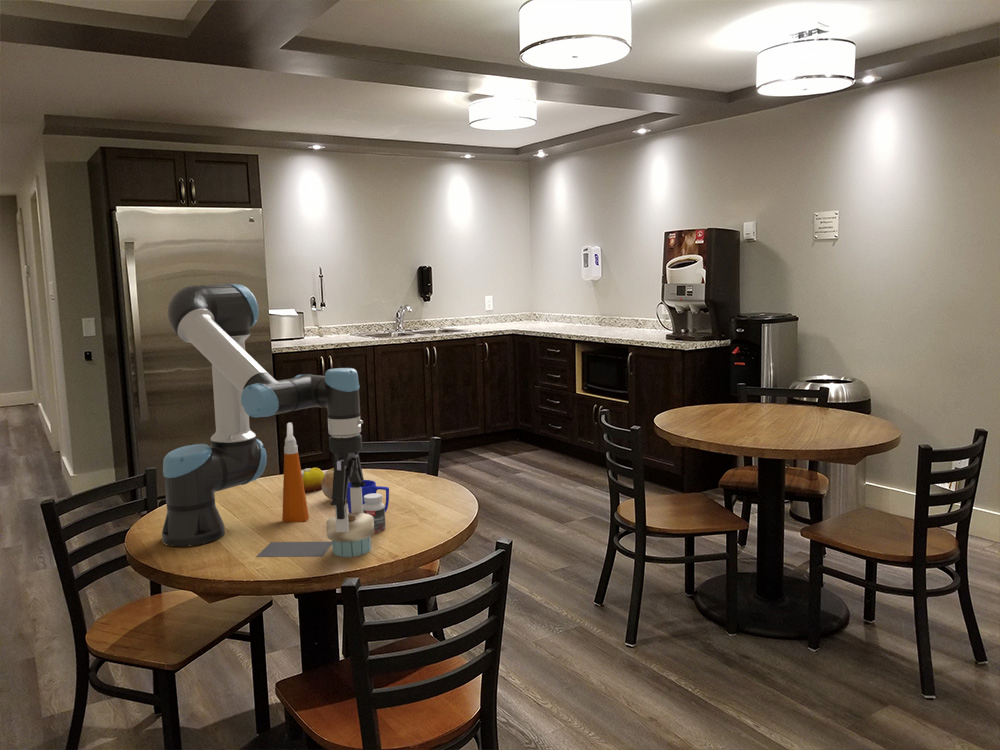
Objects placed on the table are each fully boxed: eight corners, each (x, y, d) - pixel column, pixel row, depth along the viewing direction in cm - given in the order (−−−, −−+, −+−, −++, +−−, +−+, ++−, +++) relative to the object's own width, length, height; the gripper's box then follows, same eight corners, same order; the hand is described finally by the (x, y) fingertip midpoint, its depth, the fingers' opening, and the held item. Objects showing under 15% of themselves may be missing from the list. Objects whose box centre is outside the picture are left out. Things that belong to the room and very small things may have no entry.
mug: (385, 525, 208) (383, 488, 206) (342, 523, 210) (340, 487, 209) (395, 515, 215) (393, 480, 214) (354, 514, 218) (352, 479, 217)
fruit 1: (314, 480, 254) (316, 458, 252) (330, 495, 247) (333, 473, 245) (282, 487, 247) (284, 464, 244) (298, 502, 240) (301, 479, 237)
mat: (256, 560, 184) (255, 556, 184) (271, 545, 194) (271, 542, 194) (322, 560, 183) (322, 556, 183) (334, 545, 193) (334, 541, 193)
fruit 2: (328, 495, 238) (326, 463, 237) (363, 495, 237) (361, 462, 236) (317, 505, 228) (315, 471, 227) (353, 505, 227) (351, 471, 225)
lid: (321, 542, 181) (320, 522, 180) (334, 526, 192) (333, 508, 191) (368, 541, 180) (367, 522, 180) (378, 526, 191) (377, 507, 191)
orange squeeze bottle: (309, 511, 222) (302, 420, 219) (309, 522, 212) (302, 427, 208) (283, 513, 220) (276, 422, 217) (282, 525, 210) (275, 429, 207)
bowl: (329, 560, 183) (327, 540, 182) (339, 547, 192) (338, 527, 191) (366, 560, 182) (365, 539, 182) (374, 547, 191) (373, 527, 190)
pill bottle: (366, 538, 198) (364, 500, 197) (361, 531, 203) (358, 494, 202) (388, 534, 200) (386, 496, 199) (382, 528, 205) (380, 491, 204)
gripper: (347, 446, 170) (352, 540, 173) (373, 423, 195) (377, 506, 198) (313, 446, 171) (319, 540, 174) (343, 424, 196) (348, 506, 198)
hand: (350, 522), depth 186 cm, fingers open, 13 cm apart
